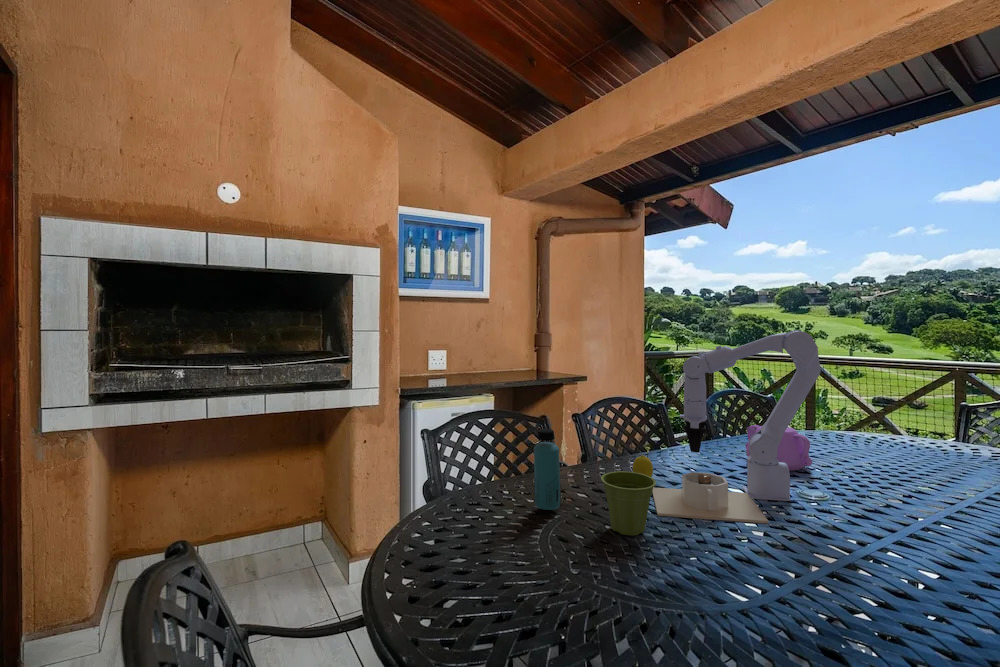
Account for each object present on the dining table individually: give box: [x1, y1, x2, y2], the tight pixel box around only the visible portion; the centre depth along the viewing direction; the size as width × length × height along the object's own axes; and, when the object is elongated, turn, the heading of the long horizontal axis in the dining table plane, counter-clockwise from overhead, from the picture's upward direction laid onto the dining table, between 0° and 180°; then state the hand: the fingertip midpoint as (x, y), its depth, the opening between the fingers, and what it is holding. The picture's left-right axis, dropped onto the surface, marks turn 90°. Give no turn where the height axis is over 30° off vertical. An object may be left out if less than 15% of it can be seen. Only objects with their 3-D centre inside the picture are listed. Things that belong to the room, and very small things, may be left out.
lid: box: [697, 474, 713, 485], centre depth 122 cm, size 8×8×6 cm
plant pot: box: [600, 470, 657, 537], centre depth 109 cm, size 12×12×11 cm
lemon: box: [632, 454, 654, 478], centre depth 139 cm, size 6×6×8 cm
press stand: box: [652, 471, 770, 524], centre depth 122 cm, size 24×18×7 cm
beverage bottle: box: [533, 428, 562, 511], centre depth 120 cm, size 6×7×20 cm
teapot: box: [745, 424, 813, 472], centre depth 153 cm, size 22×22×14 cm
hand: (695, 448), depth 136 cm, fingers open, 6 cm apart
